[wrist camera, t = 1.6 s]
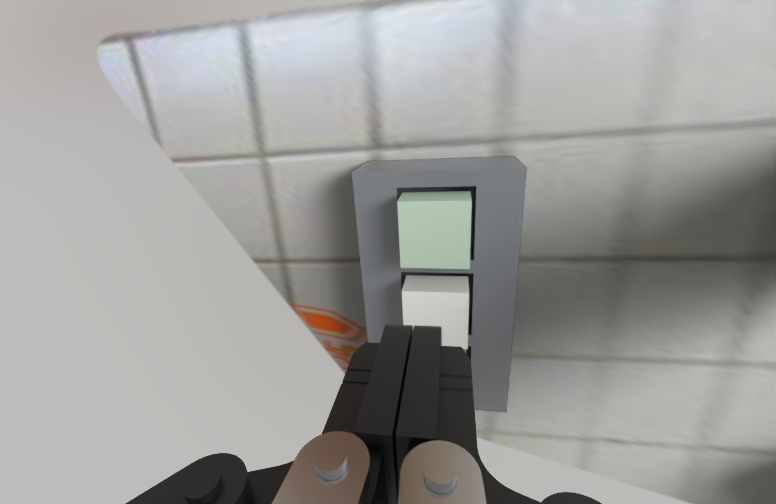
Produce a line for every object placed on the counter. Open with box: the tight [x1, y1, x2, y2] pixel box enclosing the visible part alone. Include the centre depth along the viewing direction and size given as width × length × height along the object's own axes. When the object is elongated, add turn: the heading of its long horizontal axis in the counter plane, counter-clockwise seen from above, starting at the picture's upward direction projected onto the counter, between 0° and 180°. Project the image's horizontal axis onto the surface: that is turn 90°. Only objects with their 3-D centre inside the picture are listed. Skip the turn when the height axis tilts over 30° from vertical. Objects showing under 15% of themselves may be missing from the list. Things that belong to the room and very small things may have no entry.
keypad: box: [352, 156, 527, 412], centre depth 24 cm, size 9×16×4 cm, turn 3°
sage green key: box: [397, 191, 472, 269], centre depth 19 cm, size 4×4×2 cm
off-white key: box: [402, 275, 469, 349], centre depth 21 cm, size 4×4×2 cm
